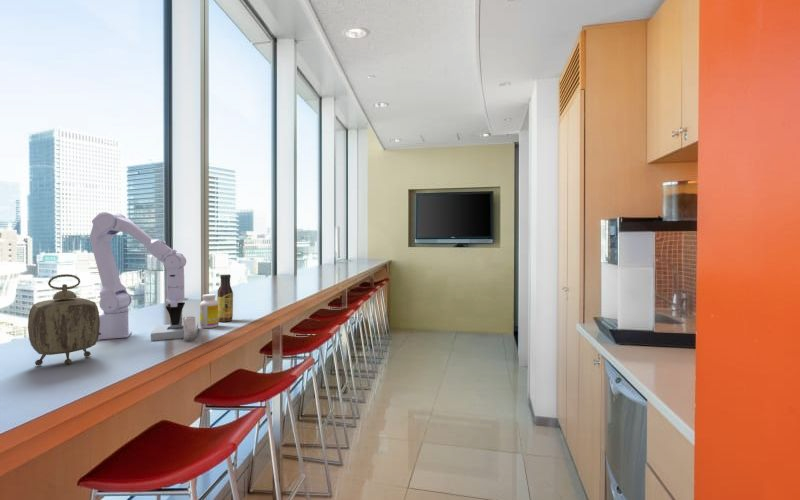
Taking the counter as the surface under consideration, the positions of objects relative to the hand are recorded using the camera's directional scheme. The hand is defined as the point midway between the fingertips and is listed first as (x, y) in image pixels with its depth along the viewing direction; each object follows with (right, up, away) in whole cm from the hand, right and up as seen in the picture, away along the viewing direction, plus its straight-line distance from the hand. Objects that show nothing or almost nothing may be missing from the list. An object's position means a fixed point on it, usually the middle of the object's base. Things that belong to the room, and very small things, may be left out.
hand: (175, 323), depth 146 cm
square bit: (0, -3, 0) cm, 3 cm away
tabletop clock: (-12, -5, -34) cm, 36 cm away
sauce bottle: (+7, -4, +25) cm, 26 cm away
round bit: (+10, -4, -9) cm, 14 cm away
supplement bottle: (+6, -4, +13) cm, 15 cm away
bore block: (0, -4, 0) cm, 4 cm away
